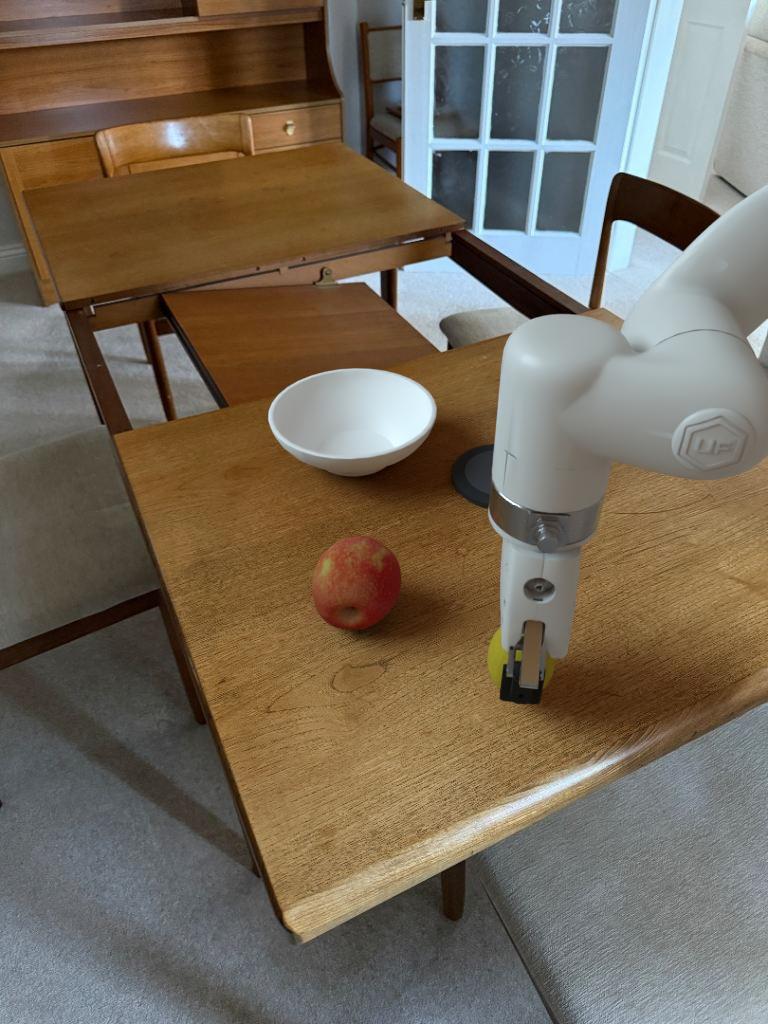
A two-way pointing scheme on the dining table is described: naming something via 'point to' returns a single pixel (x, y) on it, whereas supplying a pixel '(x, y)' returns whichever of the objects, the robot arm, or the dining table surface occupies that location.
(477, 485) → the plate
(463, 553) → the dining table surface
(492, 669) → the lemon
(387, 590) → the apple
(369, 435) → the bowl
